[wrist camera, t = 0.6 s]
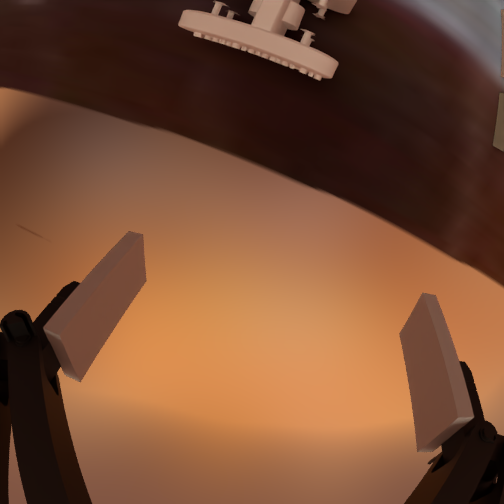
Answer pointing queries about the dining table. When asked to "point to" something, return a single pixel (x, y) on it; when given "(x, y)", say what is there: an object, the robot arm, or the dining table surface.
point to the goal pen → (499, 125)
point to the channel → (503, 67)
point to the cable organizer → (269, 32)
